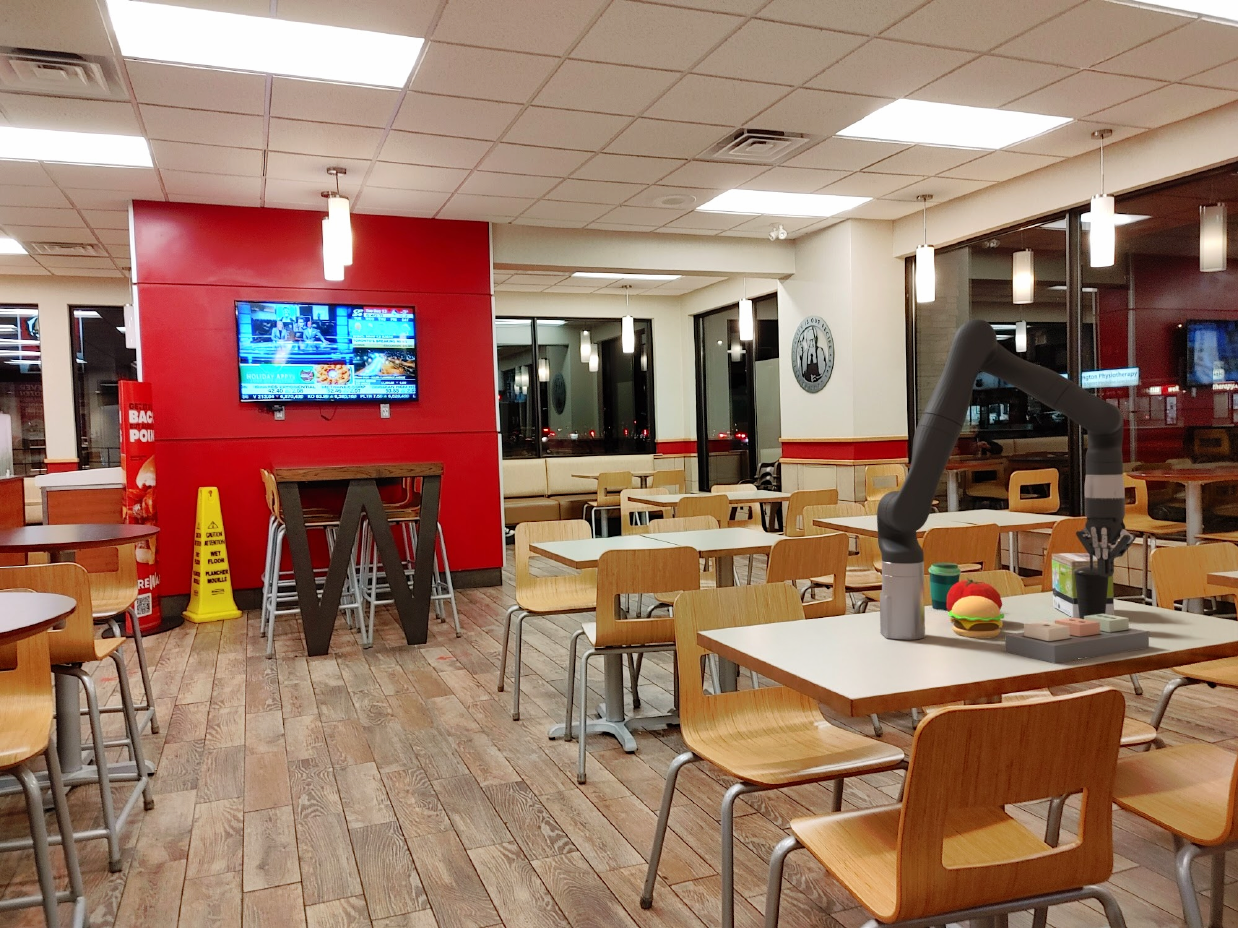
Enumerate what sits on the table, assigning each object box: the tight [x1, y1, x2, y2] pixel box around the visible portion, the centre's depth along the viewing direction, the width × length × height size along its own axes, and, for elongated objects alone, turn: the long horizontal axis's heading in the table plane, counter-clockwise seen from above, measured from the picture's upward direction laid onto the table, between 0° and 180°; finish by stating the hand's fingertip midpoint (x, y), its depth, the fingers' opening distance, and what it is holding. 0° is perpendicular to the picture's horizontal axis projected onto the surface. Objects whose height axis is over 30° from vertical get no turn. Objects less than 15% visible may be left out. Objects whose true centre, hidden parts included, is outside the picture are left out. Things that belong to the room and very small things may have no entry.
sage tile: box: [1084, 614, 1130, 632], centre depth 189 cm, size 6×6×2 cm
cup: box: [928, 562, 962, 611], centre depth 235 cm, size 8×8×12 cm
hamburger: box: [947, 596, 1005, 639], centre depth 203 cm, size 12×12×9 cm
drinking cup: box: [1073, 555, 1109, 619], centre depth 206 cm, size 8×8×20 cm
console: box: [1004, 627, 1150, 664], centre depth 185 cm, size 28×12×4 cm, turn 114°
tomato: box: [947, 577, 1003, 613], centre depth 216 cm, size 13×12×11 cm
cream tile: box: [1023, 621, 1070, 641], centre depth 182 cm, size 6×6×2 cm
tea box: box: [1051, 552, 1115, 619], centre depth 225 cm, size 15×10×15 cm, turn 172°
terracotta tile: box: [1054, 617, 1100, 637], centre depth 185 cm, size 6×6×2 cm
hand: (1105, 576), depth 189 cm, fingers closed
